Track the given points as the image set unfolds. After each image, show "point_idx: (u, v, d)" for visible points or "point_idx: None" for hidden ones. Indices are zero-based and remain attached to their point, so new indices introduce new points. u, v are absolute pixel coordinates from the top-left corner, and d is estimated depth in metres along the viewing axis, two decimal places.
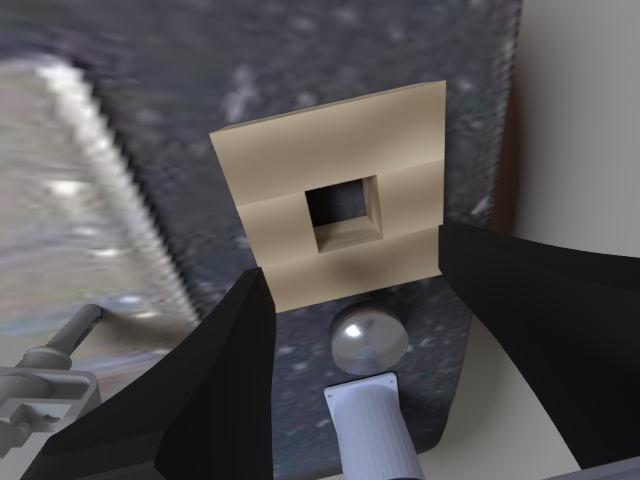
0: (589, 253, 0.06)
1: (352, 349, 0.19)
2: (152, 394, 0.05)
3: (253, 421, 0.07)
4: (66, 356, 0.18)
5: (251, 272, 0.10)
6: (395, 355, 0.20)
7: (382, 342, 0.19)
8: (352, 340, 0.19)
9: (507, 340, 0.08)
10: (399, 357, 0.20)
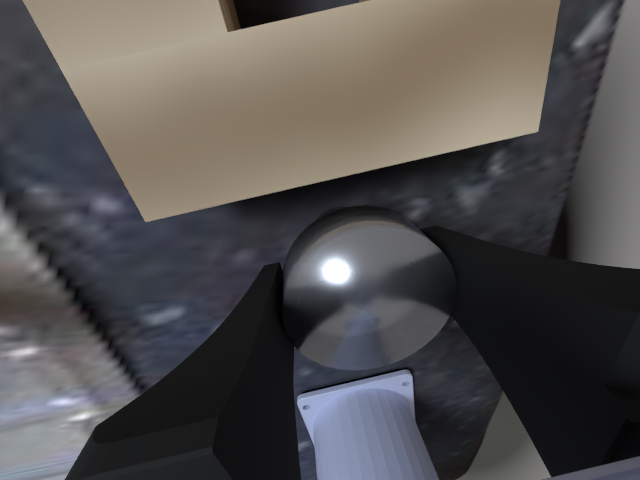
0: (559, 260, 0.06)
1: (329, 310, 0.08)
2: (192, 385, 0.05)
3: (282, 414, 0.07)
4: None
5: (270, 267, 0.10)
6: (425, 327, 0.09)
7: (397, 294, 0.08)
8: (326, 288, 0.08)
9: (483, 346, 0.08)
10: (433, 332, 0.09)
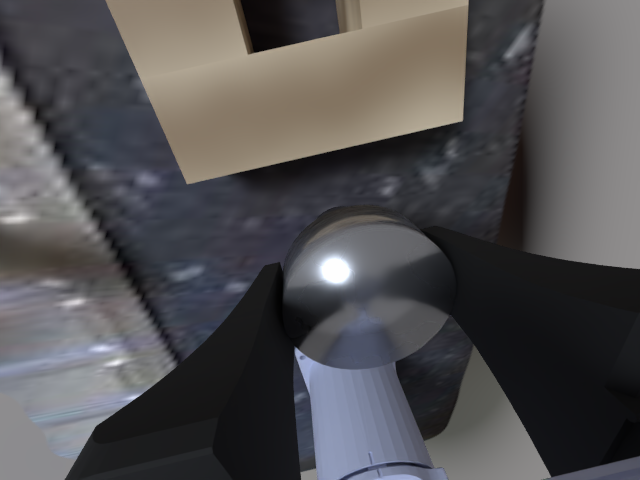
0: (559, 260, 0.06)
1: (328, 310, 0.08)
2: (192, 385, 0.05)
3: (282, 414, 0.07)
4: None
5: (271, 268, 0.10)
6: (424, 327, 0.09)
7: (397, 294, 0.08)
8: (326, 287, 0.08)
9: (483, 346, 0.08)
10: (432, 331, 0.09)
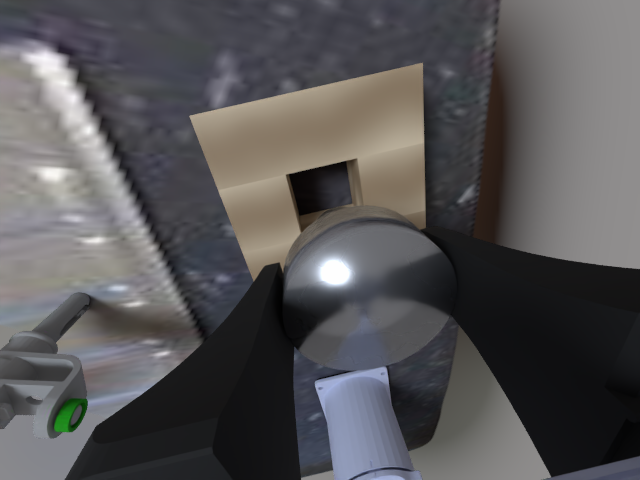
0: (559, 260, 0.06)
1: (329, 311, 0.08)
2: (192, 384, 0.05)
3: (282, 414, 0.07)
4: (52, 341, 0.18)
5: (270, 268, 0.10)
6: (425, 327, 0.09)
7: (397, 295, 0.08)
8: (326, 288, 0.08)
9: (483, 346, 0.08)
10: (433, 332, 0.09)
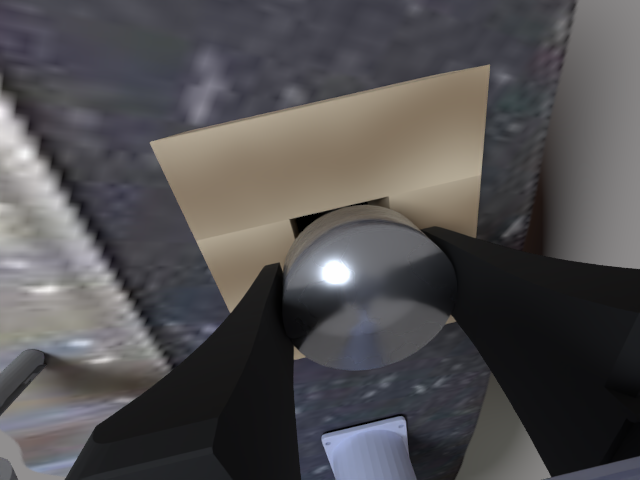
0: (559, 261, 0.06)
1: (329, 310, 0.08)
2: (192, 385, 0.05)
3: (282, 414, 0.07)
4: None
5: (270, 268, 0.10)
6: (425, 327, 0.09)
7: (398, 294, 0.08)
8: (326, 287, 0.08)
9: (483, 346, 0.08)
10: (433, 332, 0.09)
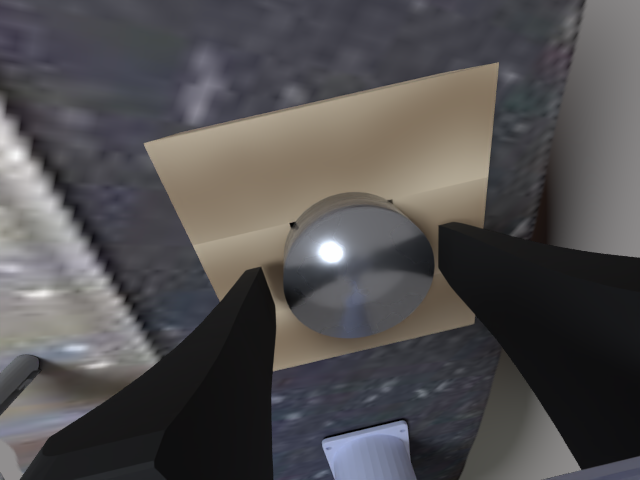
0: (588, 253, 0.06)
1: (323, 282, 0.10)
2: (151, 395, 0.05)
3: (253, 421, 0.07)
4: None
5: (251, 272, 0.10)
6: (408, 299, 0.11)
7: (383, 268, 0.10)
8: (321, 261, 0.09)
9: (507, 340, 0.08)
10: (415, 303, 0.11)
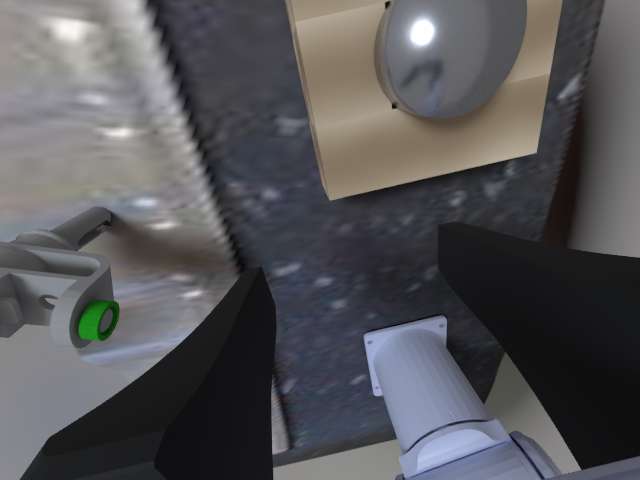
0: (589, 253, 0.06)
1: (425, 36, 0.10)
2: (152, 394, 0.05)
3: (253, 421, 0.07)
4: (69, 245, 0.14)
5: (251, 272, 0.10)
6: (496, 69, 0.11)
7: (480, 24, 0.11)
8: (427, 7, 0.10)
9: (507, 340, 0.08)
10: (502, 77, 0.11)
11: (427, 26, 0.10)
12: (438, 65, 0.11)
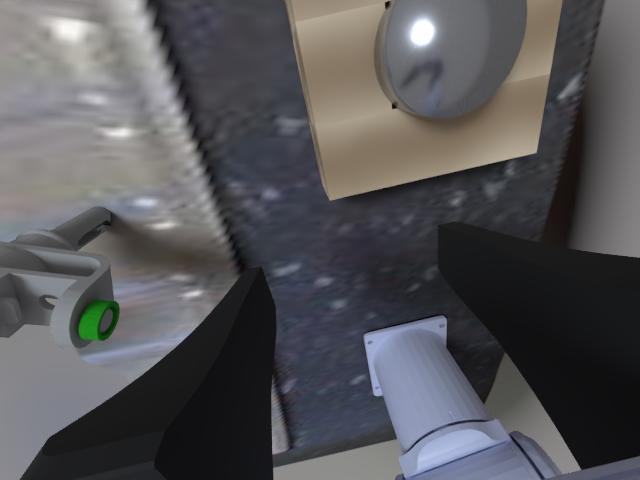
0: (589, 253, 0.06)
1: (425, 36, 0.10)
2: (152, 395, 0.05)
3: (253, 421, 0.07)
4: (69, 245, 0.14)
5: (251, 272, 0.10)
6: (496, 69, 0.11)
7: (480, 24, 0.11)
8: (427, 7, 0.10)
9: (507, 340, 0.08)
10: (502, 77, 0.11)
11: (427, 26, 0.10)
12: (438, 65, 0.11)
